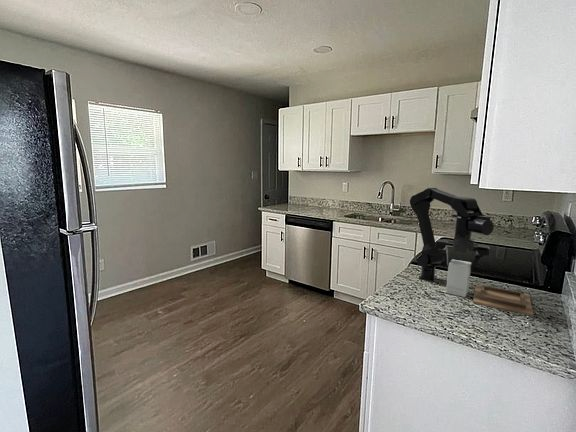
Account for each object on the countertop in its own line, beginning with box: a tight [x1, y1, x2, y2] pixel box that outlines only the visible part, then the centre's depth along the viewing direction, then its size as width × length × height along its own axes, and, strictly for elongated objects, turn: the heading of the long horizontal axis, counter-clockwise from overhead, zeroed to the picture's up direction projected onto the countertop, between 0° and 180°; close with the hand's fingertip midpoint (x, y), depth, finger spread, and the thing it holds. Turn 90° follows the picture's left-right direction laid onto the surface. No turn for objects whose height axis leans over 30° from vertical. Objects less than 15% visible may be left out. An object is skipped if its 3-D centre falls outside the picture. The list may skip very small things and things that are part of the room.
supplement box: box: [445, 259, 472, 298], centre depth 126 cm, size 7×7×13 cm
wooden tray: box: [472, 284, 534, 317], centre depth 120 cm, size 20×18×2 cm
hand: (459, 267), depth 126 cm, fingers open, 9 cm apart
